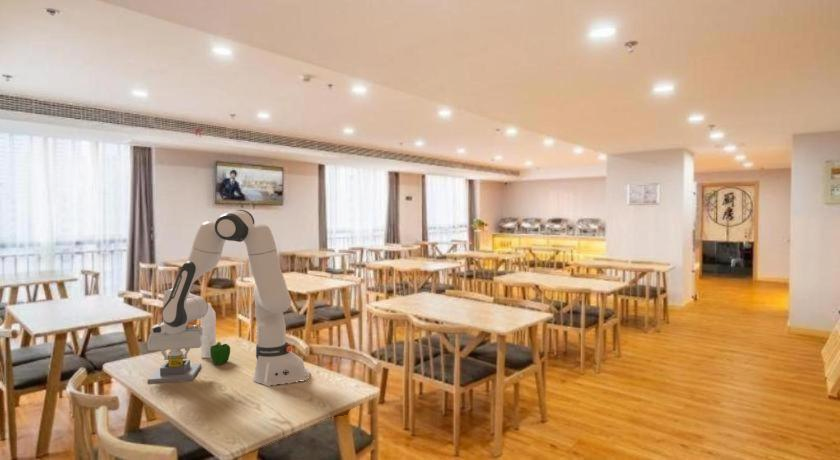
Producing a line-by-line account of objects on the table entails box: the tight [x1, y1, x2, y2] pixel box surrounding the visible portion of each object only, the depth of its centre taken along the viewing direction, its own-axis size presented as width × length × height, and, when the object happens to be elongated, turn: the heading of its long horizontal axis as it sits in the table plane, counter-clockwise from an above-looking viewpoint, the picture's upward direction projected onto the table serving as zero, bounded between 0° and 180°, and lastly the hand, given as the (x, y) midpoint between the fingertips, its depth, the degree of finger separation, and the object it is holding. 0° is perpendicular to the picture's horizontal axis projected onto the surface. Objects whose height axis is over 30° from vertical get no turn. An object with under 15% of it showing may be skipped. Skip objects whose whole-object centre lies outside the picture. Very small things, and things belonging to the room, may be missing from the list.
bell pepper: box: [210, 341, 231, 366], centre depth 208 cm, size 8×8×10 cm
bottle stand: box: [147, 359, 202, 384], centre depth 194 cm, size 16×16×4 cm
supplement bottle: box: [167, 348, 184, 367], centre depth 193 cm, size 5×5×10 cm
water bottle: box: [200, 302, 217, 359], centre depth 216 cm, size 9×6×25 cm
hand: (175, 359), depth 193 cm, fingers closed on supplement bottle, 5 cm apart
